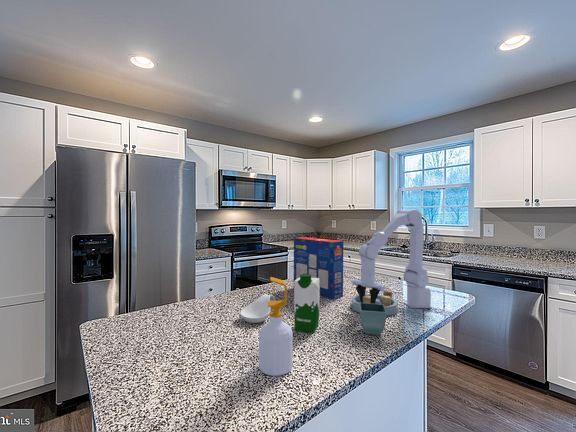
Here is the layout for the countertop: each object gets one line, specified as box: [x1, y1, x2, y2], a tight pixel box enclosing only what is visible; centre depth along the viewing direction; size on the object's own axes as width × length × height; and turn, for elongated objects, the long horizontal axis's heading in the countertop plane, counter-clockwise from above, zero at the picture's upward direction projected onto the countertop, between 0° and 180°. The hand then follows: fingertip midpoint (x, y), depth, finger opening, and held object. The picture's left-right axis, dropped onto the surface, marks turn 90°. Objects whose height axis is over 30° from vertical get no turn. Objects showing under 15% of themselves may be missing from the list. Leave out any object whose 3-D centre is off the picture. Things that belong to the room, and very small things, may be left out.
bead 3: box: [381, 295, 391, 306], centre depth 126 cm, size 4×4×5 cm
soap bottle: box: [258, 276, 294, 377], centre depth 80 cm, size 9×9×25 cm
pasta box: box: [293, 236, 344, 300], centre depth 155 cm, size 28×8×28 cm, turn 42°
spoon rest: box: [239, 293, 277, 324], centre depth 120 cm, size 24×12×7 cm, turn 162°
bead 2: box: [382, 289, 393, 298], centre depth 139 cm, size 4×4×5 cm
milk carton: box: [293, 274, 320, 334], centre depth 107 cm, size 9×9×20 cm
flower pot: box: [359, 303, 387, 336], centre depth 104 cm, size 9×9×9 cm
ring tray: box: [350, 293, 399, 317], centre depth 130 cm, size 20×20×4 cm
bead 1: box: [363, 296, 371, 304], centre depth 126 cm, size 4×4×5 cm
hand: (367, 304), depth 126 cm, fingers open, 4 cm apart
